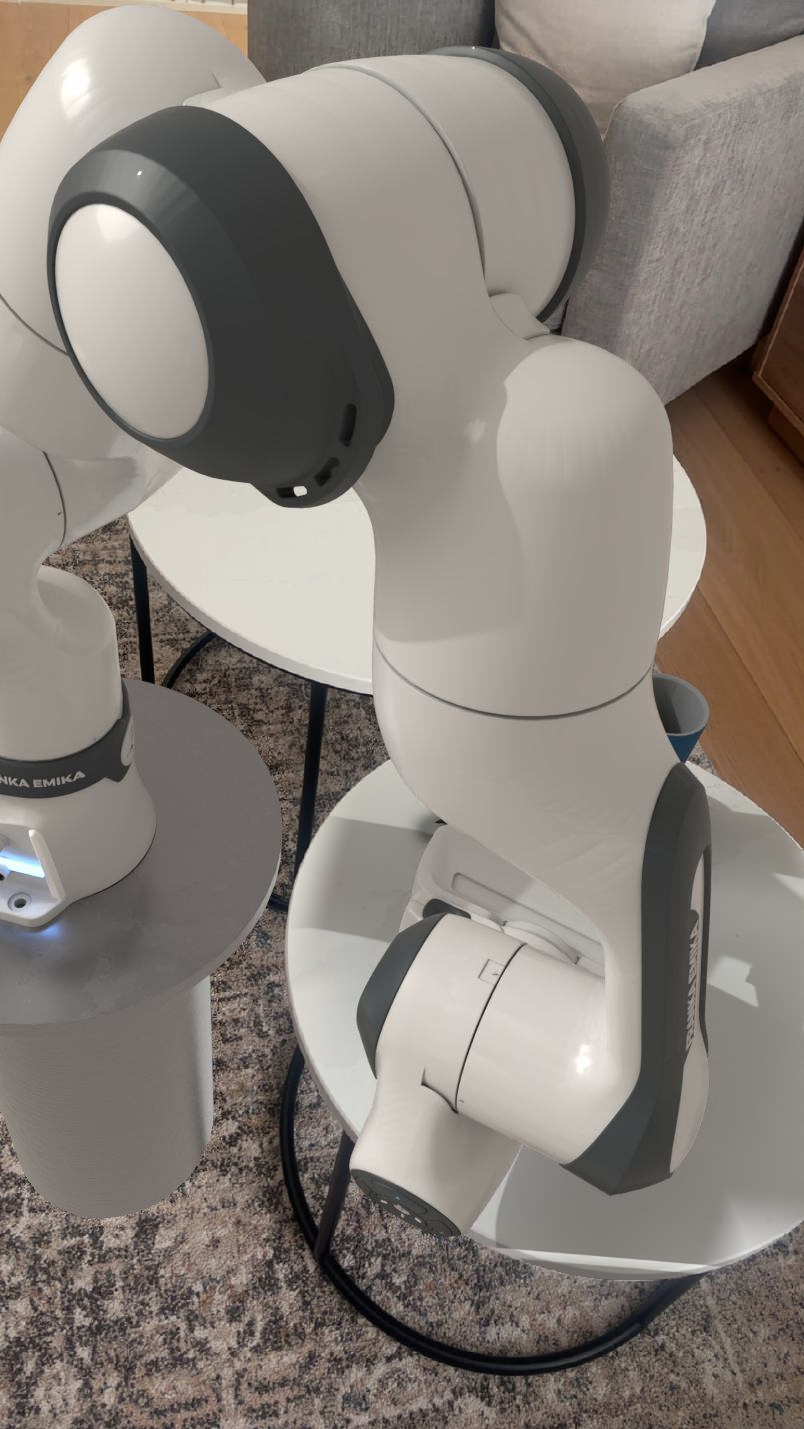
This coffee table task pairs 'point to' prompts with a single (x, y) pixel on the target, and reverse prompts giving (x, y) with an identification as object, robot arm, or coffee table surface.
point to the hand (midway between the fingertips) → (592, 847)
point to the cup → (680, 712)
